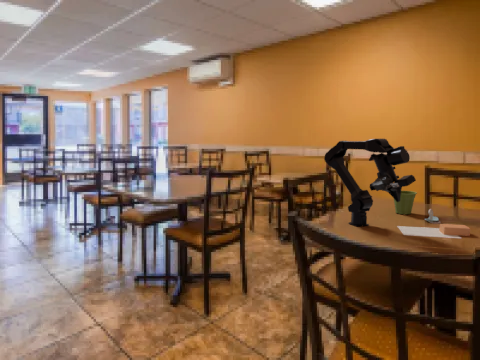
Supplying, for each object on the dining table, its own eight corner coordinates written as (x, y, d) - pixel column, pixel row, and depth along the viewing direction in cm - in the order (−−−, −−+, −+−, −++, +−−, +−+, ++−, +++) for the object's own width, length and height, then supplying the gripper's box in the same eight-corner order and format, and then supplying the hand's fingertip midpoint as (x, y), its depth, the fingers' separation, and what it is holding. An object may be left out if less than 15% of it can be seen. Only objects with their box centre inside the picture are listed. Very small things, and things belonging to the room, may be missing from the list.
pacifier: (443, 223, 150) (429, 220, 155) (444, 209, 149) (430, 207, 154) (436, 225, 146) (422, 222, 150) (438, 212, 145) (423, 209, 150)
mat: (403, 235, 130) (404, 234, 130) (396, 226, 143) (396, 225, 143) (461, 239, 125) (462, 238, 125) (448, 229, 138) (448, 228, 138)
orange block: (444, 227, 130) (470, 228, 127) (439, 223, 135) (464, 225, 133) (443, 234, 130) (469, 235, 128) (439, 230, 135) (463, 232, 133)
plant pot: (409, 210, 175) (411, 190, 173) (419, 216, 163) (421, 194, 162) (387, 210, 176) (388, 190, 175) (395, 215, 164) (396, 193, 163)
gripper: (355, 177, 140) (369, 210, 141) (392, 171, 123) (407, 208, 124) (371, 168, 145) (384, 200, 146) (409, 160, 128) (423, 196, 129)
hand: (398, 201), depth 136 cm, fingers closed
